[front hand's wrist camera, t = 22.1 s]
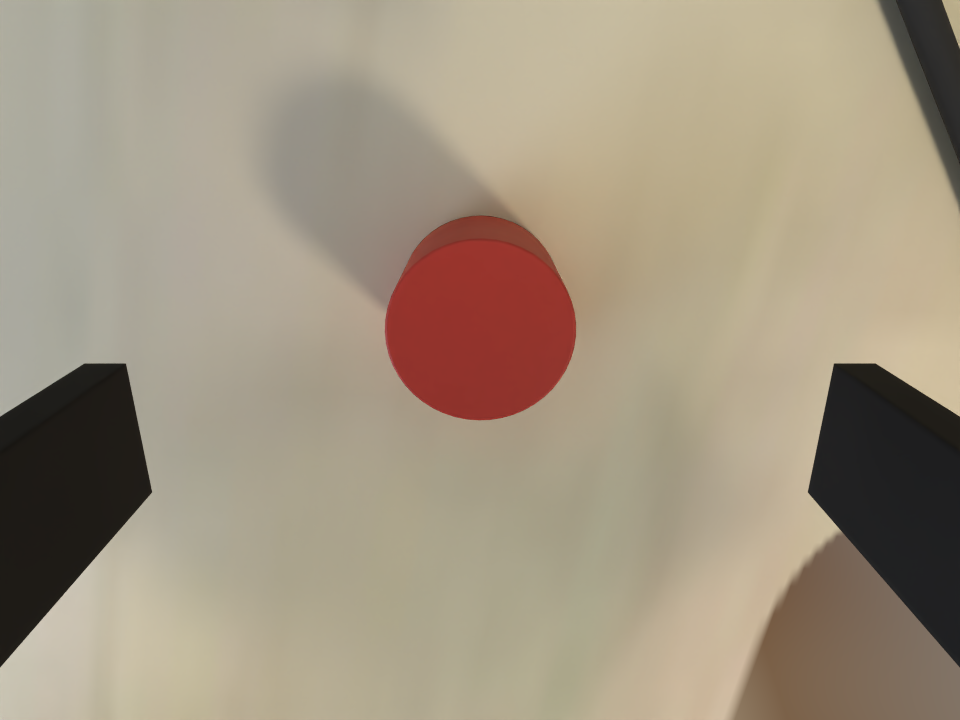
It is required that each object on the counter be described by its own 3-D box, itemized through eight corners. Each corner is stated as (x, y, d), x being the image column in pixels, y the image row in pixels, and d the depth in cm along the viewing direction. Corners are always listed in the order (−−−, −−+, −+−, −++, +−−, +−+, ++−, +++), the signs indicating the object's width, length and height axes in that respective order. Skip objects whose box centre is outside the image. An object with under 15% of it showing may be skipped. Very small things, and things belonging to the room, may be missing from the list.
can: (467, 181, 20) (465, 196, 16) (591, 283, 21) (616, 320, 17) (370, 306, 21) (346, 348, 17) (491, 396, 22) (493, 454, 18)
